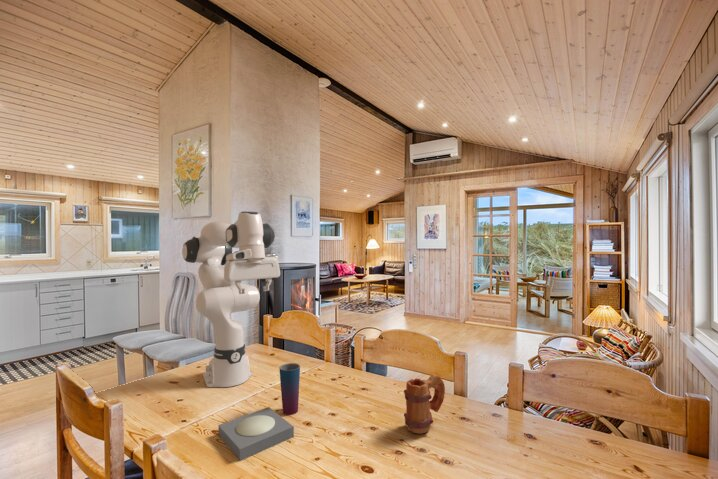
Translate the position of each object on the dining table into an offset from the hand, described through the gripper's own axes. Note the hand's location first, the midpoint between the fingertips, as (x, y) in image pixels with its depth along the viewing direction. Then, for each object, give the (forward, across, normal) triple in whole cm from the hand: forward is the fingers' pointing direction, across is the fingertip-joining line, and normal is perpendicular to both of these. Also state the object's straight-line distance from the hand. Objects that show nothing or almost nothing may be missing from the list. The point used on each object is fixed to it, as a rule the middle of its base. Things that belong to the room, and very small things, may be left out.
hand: (254, 292), depth 124 cm
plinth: (+41, +10, +18) cm, 46 cm away
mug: (+44, -30, +48) cm, 72 cm away
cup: (+41, -5, +12) cm, 43 cm away
